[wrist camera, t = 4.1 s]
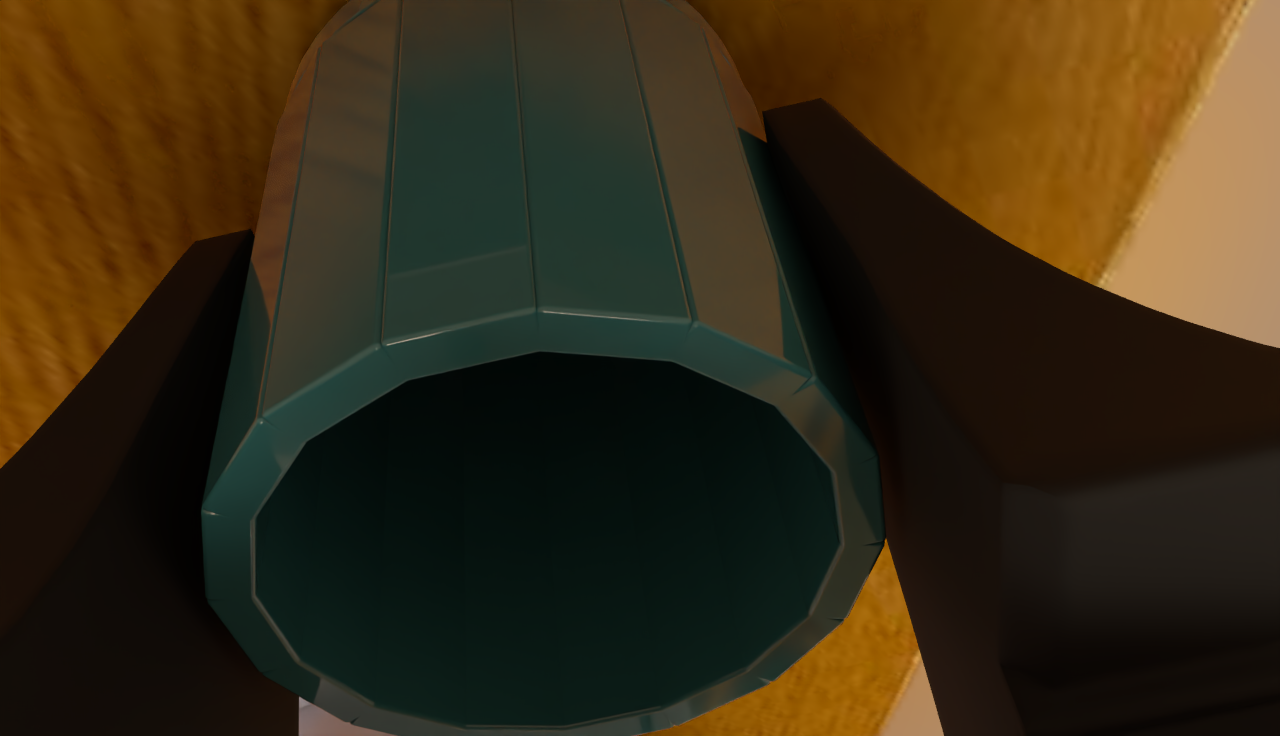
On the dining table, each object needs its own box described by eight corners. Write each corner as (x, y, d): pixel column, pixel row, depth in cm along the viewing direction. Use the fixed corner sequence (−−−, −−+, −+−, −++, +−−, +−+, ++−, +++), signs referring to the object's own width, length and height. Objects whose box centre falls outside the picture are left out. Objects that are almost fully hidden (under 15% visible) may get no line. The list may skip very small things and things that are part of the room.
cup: (775, 287, 16) (900, 683, 12) (375, 376, 16) (348, 797, 12) (715, -118, 12) (862, 236, 8) (199, 4, 13) (63, 413, 8)
